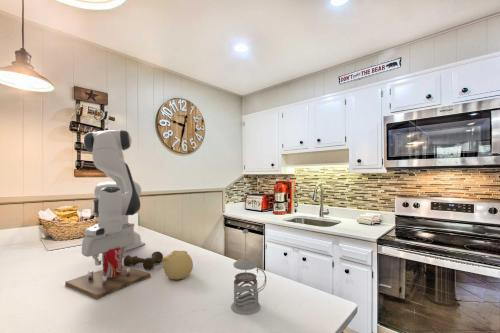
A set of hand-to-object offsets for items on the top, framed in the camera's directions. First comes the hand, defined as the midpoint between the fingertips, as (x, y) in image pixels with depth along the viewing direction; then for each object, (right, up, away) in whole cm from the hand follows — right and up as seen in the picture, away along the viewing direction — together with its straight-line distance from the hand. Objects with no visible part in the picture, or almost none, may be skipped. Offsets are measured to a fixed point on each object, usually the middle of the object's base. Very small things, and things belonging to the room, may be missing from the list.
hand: (110, 261), depth 102 cm
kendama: (+8, -9, +16) cm, 20 cm away
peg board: (0, -8, 0) cm, 8 cm away
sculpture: (+27, -8, +4) cm, 28 cm away
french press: (+57, -7, -21) cm, 61 cm away
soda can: (+1, -6, +1) cm, 6 cm away
